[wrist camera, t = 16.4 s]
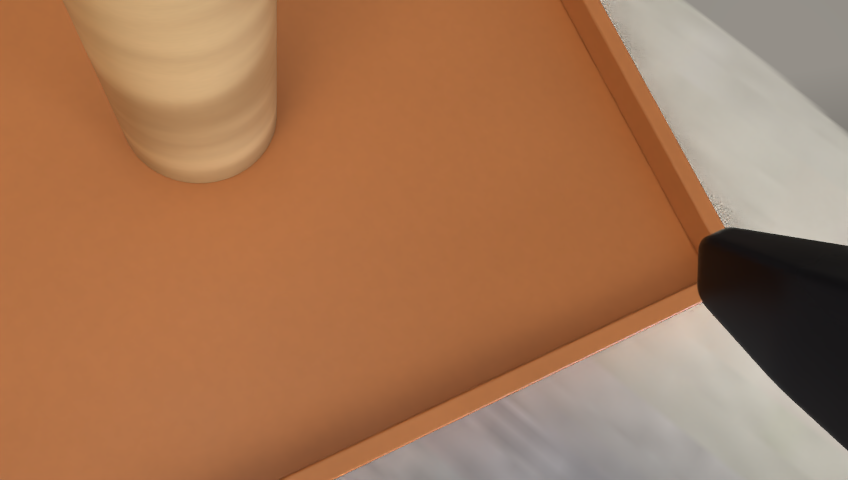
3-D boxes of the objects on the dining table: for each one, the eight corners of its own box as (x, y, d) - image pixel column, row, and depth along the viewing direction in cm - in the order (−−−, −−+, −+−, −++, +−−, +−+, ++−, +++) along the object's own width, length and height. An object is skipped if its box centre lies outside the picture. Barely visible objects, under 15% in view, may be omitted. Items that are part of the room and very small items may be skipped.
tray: (725, 288, 25) (753, 277, 24) (-183, 725, 18) (-226, 749, 16) (434, -249, 30) (442, -288, 28) (-397, -80, 22) (-446, -121, 21)
